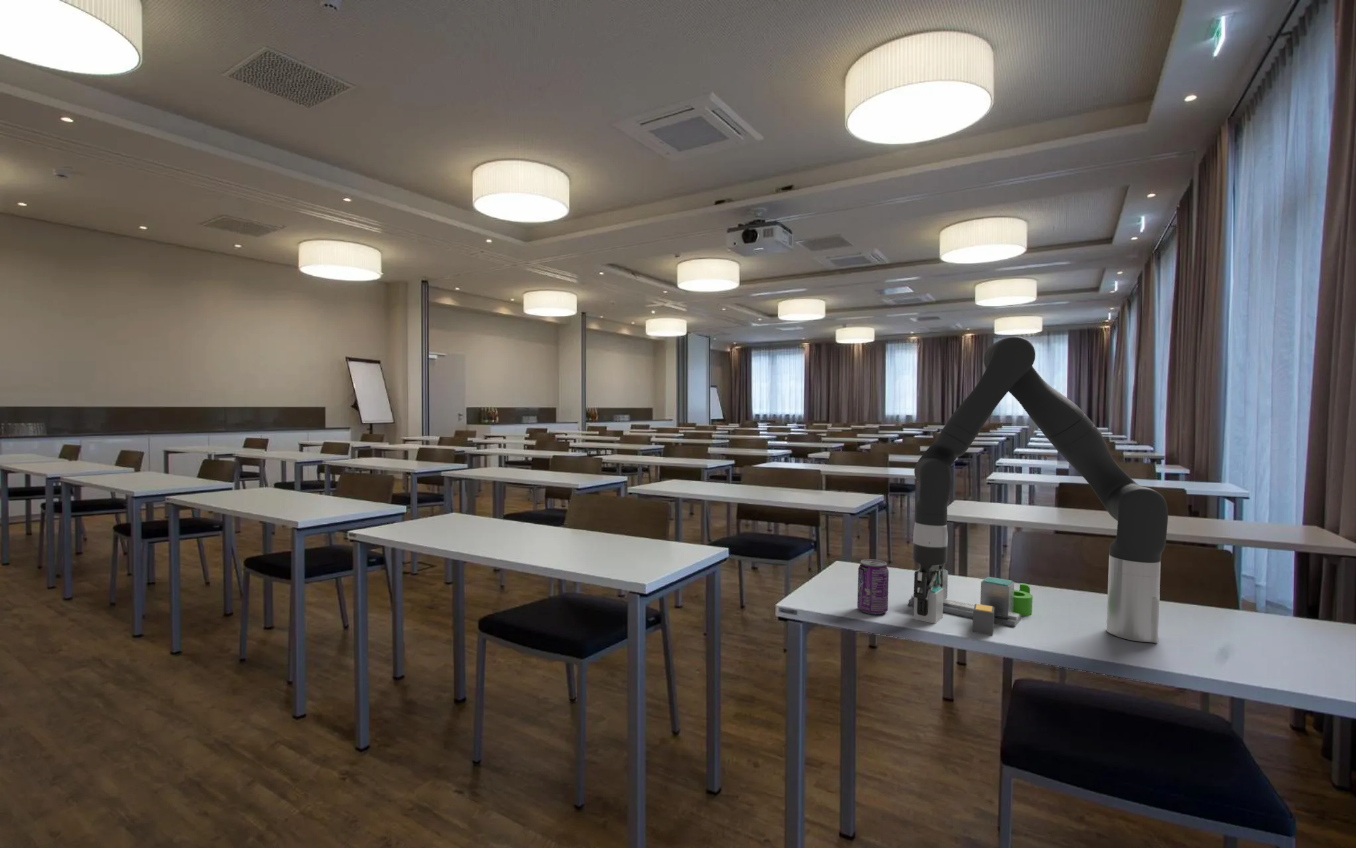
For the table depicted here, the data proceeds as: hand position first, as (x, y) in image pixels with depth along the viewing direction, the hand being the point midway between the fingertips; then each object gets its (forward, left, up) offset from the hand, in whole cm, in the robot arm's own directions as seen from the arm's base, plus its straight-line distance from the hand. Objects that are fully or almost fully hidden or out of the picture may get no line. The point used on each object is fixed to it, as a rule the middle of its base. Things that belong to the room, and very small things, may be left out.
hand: (927, 610), depth 147 cm
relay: (-12, 0, -2) cm, 12 cm away
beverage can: (+12, +4, -2) cm, 13 cm away
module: (0, 0, -2) cm, 2 cm away
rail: (-5, -11, -2) cm, 12 cm away
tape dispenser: (-14, -24, -2) cm, 28 cm away
